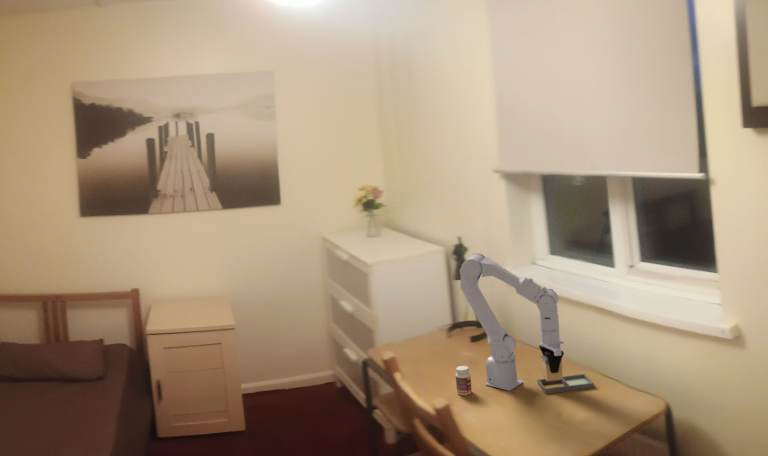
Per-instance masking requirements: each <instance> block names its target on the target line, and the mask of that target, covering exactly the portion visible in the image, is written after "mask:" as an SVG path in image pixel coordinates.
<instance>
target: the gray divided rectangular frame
mask: <svg viewBox="0 0 768 456" xmlns="http://www.w3.org/2000/svg"><path fill="white" fill-rule="evenodd" d="M536 381H537V385H538V386H539V388H540V389H541V390H542V392H543V393H544V394H545V395H549V394H556V393H563V392H571V391H572V392H573V391H579V390H587V389H594V388H595V385H594V384H595V383H594V381H592V380H591V379H590V378H589V377H588V376H587V375H586V374H585V373H581V374H579V373H578V374H572V375H565V376H564V375H563V379H561V380H553V381H547V380H546V379H545V378H540V379H537V380H536ZM554 383H555V384H556V383H561V384H562V385H563V386H557V387H556V386H555V387H548V388H546V387H545V386H544V385H545V384H554Z"/></svg>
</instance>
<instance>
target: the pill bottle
mask: <svg viewBox="0 0 768 456" xmlns="http://www.w3.org/2000/svg"><path fill="white" fill-rule="evenodd" d="M471 378H472V377H471V373H470V368H469V367H468V366H467V365H459V366H457V367H456V368H455V382H456V383H455V384H456V392H457V394H458V395H459V394H460V396H468V394H469V395H471V393H472V391H473V390H472V379H471Z"/></svg>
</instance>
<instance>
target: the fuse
mask: <svg viewBox="0 0 768 456" xmlns="http://www.w3.org/2000/svg"><path fill="white" fill-rule="evenodd" d="M541 362H542V364H541V365H542V375H543V376H542V377H543V379H546V380H547V381H553V380H561V379H563V376H564V375H563V363H562V359H561V361H560V366H559V371H558V373H551V371H550V367H549V362H548V359H547V357H546V355H543V354H542V355H541Z"/></svg>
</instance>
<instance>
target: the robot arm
mask: <svg viewBox="0 0 768 456" xmlns="http://www.w3.org/2000/svg"><path fill="white" fill-rule="evenodd" d="M459 274H460V290H461V291H462V293H463V295H464V296H465V298H466V301H467V302H468V304H469V306H470V307H471V309H472V311H473V312H474V314H475V317H476V318H477V320H478V322H479V323H480V325H481V327H482V328H483V331H484V332H485V333H486V336H487V343H488V345H489V348H490V354H491V355H490V356H489V357H488V358H487V359H486V363H485V364H486V365H485V370H486V381H487V382H486V383H485V385H486V386H489V387H493V388H496V389H497V388H498V389H501V390H505V391H509V392H510V391H512V390H513V389H515V388H517V387H519V385H521V384H524V381H523V380H521V379H518V372H517V369H518V368H517V358H516V354H515V352H514V351H515V349H516V346H517V343H516V340H515V338H514V337H513V336H511V334H509V333H508V331H507V330H506V329H505V328H504V327H502V326H501V324H500V322H499V321H498V319H497V317H496V315H495V314H494V312H493V310H492V308H491V307H490V304H489V302H488V301H487V300H486V297H485V296H484V293H482V290H481V288H480V287H479V281H480V279H481V278H487V277H493V278H496V279H497V280H499V281H502V282H503V283H504V284H507V285H509V286H511V287H513V288H514V289H515V293H516V294H517V295H520V296H521V297H522V298H524V299H526V300H528V301H530V302H531V303H533V304H535V305H536V306H537V309H538V310H539V315H538V316H539V330H540V345H538V348H539V350H540V351H541V353H542V356H543V355H546V357H547V359H548V362H549V367H550V371H551V373H558V371H559V366H560V361H561V360H562V359H563V356H564V355H565V354H564V351H563V350H562V349H561V347H562V346H561V345H564V344H565V341H564V340H563V339H561V338H560V337H561V336H560V323H559V322H560V321H559V313H558V312H559V311H558V306H557V305H558V302H559V295H558V294H557V292H556V291H555V290H554V289H553V288H548V287H546V286H541V285H540V284H539V283H536V282H534V279H533V278H532V277H529V278H528V277H522V278H521V277H518V276H517V275H516V274H514V273H512V272H511V271H509V270H508V269H506V268H505V267H503V266H502V265H500V264H499V263H496V262H495V261H494V260H493V259H492V258H490V257H488V256H485V255H484V254H483V253H479V252H475V253H473V254H471V255H470V256H469V257H468V258H467V259H466V260H464V261H463V262H462V264H461V267H460V269H459Z"/></svg>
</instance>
